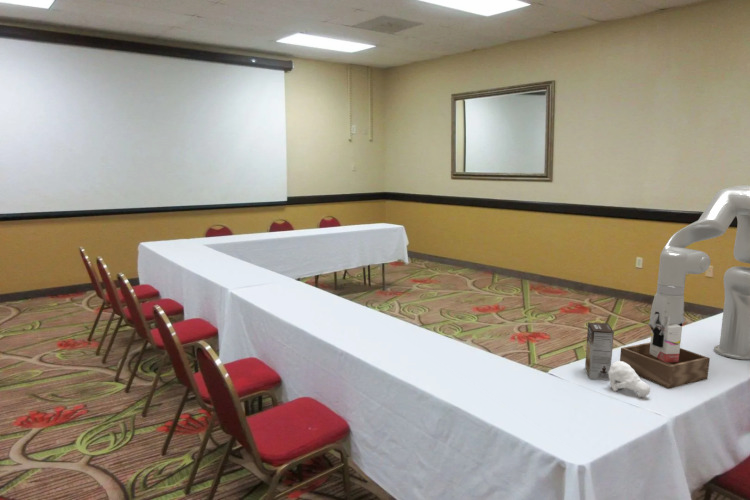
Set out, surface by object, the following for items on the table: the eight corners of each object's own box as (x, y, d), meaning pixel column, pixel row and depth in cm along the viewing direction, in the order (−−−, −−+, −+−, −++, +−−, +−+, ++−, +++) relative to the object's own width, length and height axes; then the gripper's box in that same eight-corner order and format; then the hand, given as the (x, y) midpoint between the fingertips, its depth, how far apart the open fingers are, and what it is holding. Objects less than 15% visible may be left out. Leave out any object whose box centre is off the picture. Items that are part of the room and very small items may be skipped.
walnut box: (656, 360, 185) (658, 340, 184) (707, 379, 169) (709, 358, 168) (619, 368, 178) (620, 347, 177) (668, 388, 162) (670, 366, 161)
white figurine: (619, 356, 164) (658, 372, 155) (614, 382, 166) (652, 399, 157) (607, 361, 160) (646, 377, 151) (603, 386, 162) (641, 404, 153)
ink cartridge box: (679, 362, 169) (684, 317, 166) (664, 362, 168) (669, 317, 166) (662, 353, 177) (667, 309, 175) (648, 353, 177) (652, 310, 174)
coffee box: (584, 368, 178) (587, 321, 175) (604, 369, 176) (608, 323, 174) (589, 379, 169) (592, 330, 166) (610, 381, 167) (614, 331, 165)
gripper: (678, 285, 176) (672, 337, 179) (640, 289, 169) (635, 344, 172) (699, 290, 169) (693, 344, 172) (662, 295, 162) (656, 352, 165)
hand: (665, 344), depth 172 cm, fingers closed on ink cartridge box, 6 cm apart
